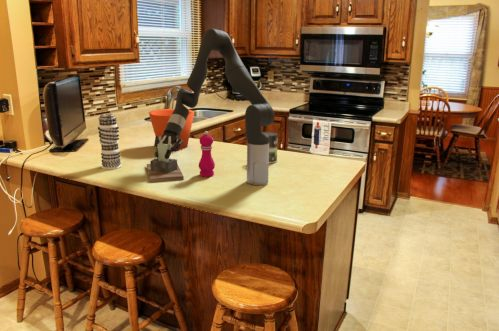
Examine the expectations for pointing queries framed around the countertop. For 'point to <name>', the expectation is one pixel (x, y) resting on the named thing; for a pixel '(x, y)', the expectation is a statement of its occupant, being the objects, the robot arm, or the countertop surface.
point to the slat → (162, 152)
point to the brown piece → (164, 171)
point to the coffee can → (272, 146)
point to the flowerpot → (161, 119)
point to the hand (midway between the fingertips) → (161, 157)
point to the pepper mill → (206, 156)
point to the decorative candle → (109, 141)
